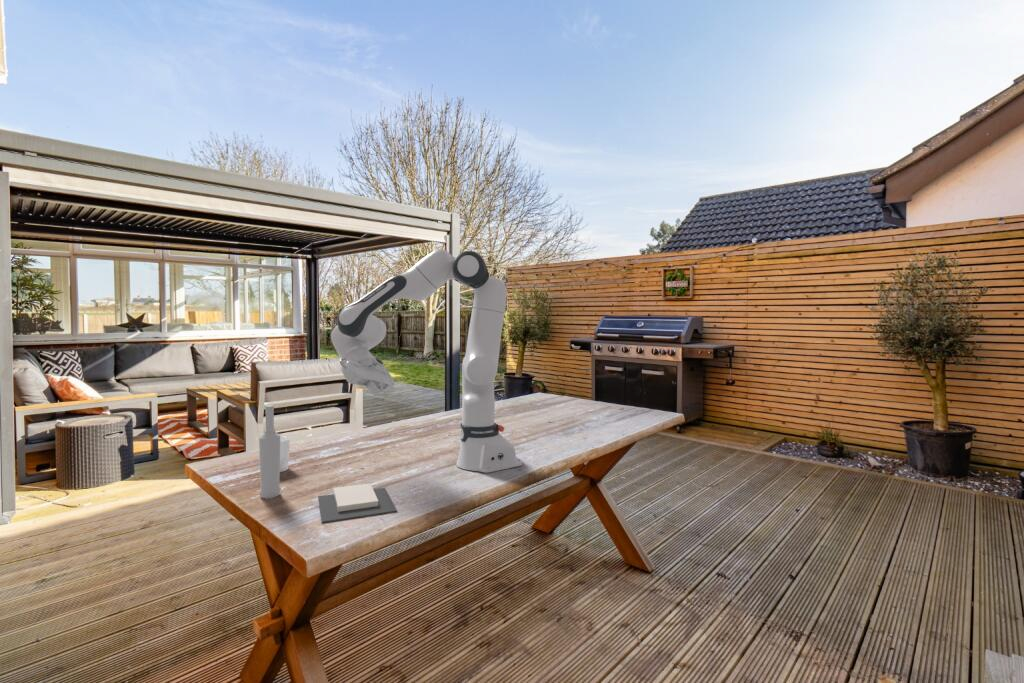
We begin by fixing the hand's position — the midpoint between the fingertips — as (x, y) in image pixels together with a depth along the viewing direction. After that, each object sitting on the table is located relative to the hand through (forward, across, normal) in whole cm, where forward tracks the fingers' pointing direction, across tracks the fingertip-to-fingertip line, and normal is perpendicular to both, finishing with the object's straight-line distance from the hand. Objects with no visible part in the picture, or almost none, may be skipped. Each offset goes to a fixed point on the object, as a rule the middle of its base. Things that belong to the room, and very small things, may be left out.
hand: (380, 394), depth 151 cm
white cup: (-4, -6, +41) cm, 42 cm away
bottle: (+11, -21, +33) cm, 41 cm away
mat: (+29, -15, +15) cm, 36 cm away
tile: (+22, -10, +18) cm, 29 cm away
